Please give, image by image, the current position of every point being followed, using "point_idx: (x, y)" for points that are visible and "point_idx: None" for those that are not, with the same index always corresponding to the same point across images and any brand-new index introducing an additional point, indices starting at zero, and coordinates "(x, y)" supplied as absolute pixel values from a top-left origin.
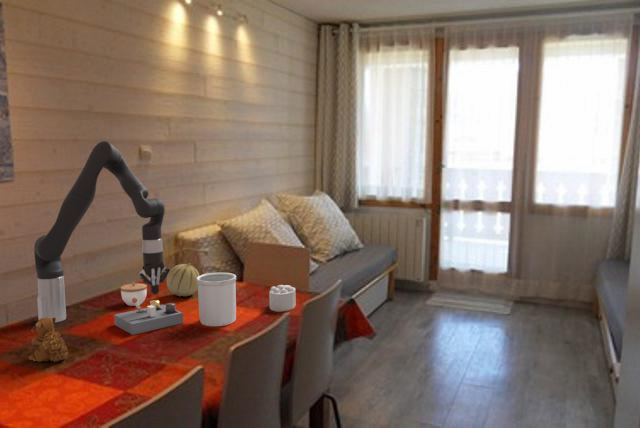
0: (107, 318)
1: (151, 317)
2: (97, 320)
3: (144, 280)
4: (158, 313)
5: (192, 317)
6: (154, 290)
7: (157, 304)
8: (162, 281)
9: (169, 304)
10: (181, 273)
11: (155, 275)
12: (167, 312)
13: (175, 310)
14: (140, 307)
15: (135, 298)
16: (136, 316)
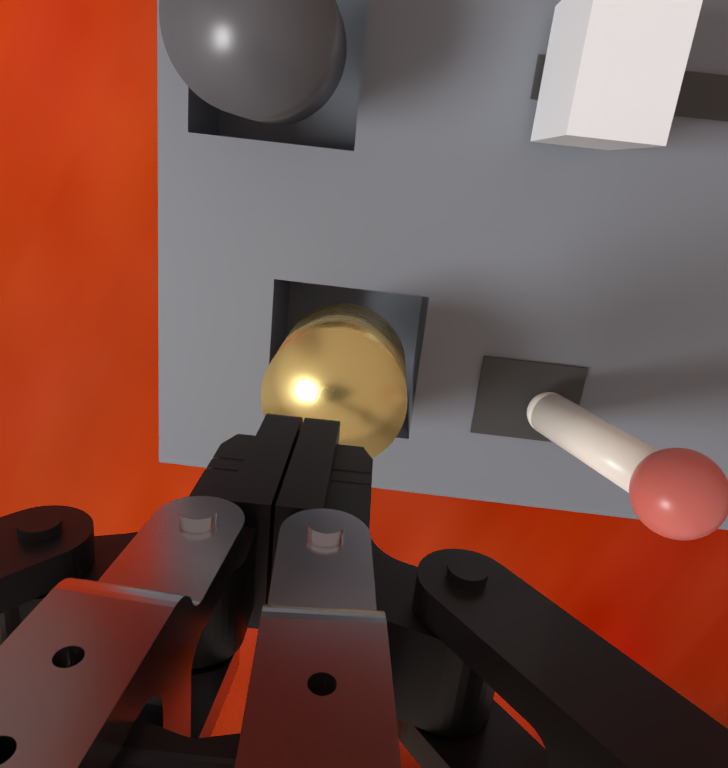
0: None
1: None
2: (714, 697)
3: (662, 694)
4: (429, 141)
5: (7, 40)
6: (329, 451)
7: (333, 320)
8: (40, 507)
9: (271, 7)
10: None
11: (174, 750)
12: (342, 19)
13: (176, 76)
14: (552, 415)
15: (697, 486)
16: (703, 258)
